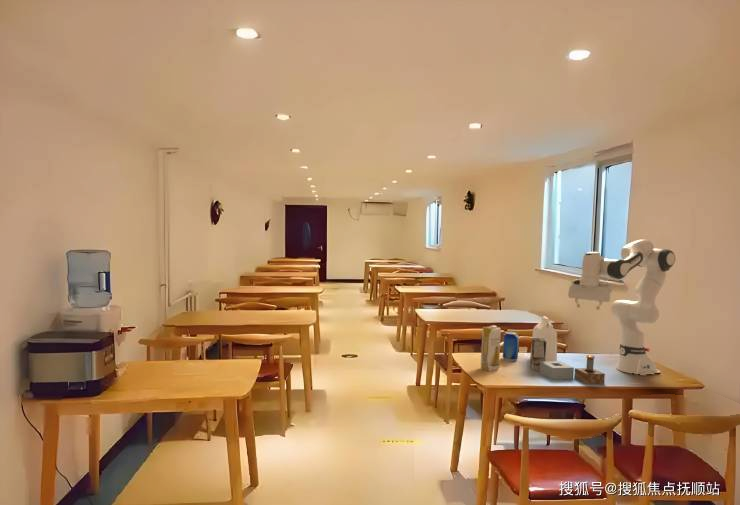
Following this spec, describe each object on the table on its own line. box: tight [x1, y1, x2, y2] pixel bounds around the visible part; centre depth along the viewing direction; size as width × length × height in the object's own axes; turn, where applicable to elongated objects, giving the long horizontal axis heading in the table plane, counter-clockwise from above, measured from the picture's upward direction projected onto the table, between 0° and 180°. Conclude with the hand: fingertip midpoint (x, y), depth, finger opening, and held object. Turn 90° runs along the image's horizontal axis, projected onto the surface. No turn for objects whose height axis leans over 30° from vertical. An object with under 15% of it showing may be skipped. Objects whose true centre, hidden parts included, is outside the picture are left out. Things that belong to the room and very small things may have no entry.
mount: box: [573, 367, 606, 385], centre depth 241 cm, size 10×10×5 cm
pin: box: [585, 354, 596, 372], centre depth 241 cm, size 4×4×13 cm
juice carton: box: [480, 325, 502, 372], centre depth 254 cm, size 9×8×24 cm
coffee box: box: [530, 338, 546, 372], centre depth 259 cm, size 9×6×16 cm
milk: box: [529, 316, 558, 361], centre depth 275 cm, size 12×12×26 cm
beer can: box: [502, 331, 520, 362], centre depth 275 cm, size 8×8×16 cm
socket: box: [539, 360, 575, 381], centre depth 247 cm, size 12×12×6 cm
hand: (588, 308), depth 248 cm, fingers open, 8 cm apart
